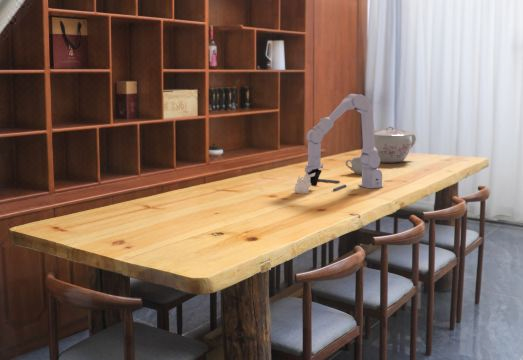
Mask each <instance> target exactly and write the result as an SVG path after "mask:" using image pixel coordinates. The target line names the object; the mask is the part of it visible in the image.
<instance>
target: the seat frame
mask: <svg viewBox="0 0 523 360" xmlns="http://www.w3.org/2000/svg"><path fill="white" fill-rule="evenodd" d="M321 181H322V183H334V184H340V183H341V181H340V180H338V179H337V180H336V179H323V178H318V182H321ZM344 188H347V184H341V185H339V186H337V187H334V188H333V189H332V191H333V192H337V191H340V190H342V189H344Z"/></svg>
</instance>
